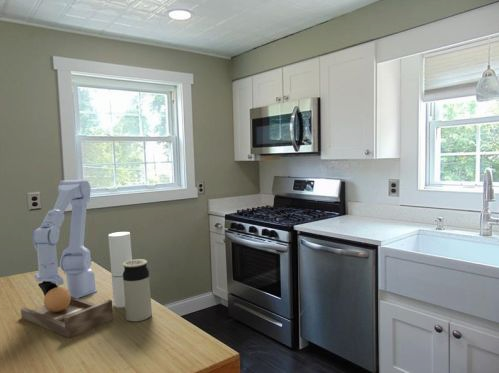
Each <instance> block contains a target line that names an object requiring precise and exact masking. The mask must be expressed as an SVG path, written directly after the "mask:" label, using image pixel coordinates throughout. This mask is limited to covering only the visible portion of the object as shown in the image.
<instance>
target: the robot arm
mask: <svg viewBox="0 0 499 373" xmlns="http://www.w3.org/2000/svg"><path fill="white" fill-rule="evenodd" d="M91 189H92V188H91V185H90V182H89V180H87V179H71V180H65V179H64V180H61V181H60V182H59V184H58V187H57V190H58V191H57V192H58V196H57V199H56V202H55V204H54V206H53V209H50V210H48V212H47V213H46V215H45V217H44V218H43V221H42V222H41V225H40V226H39V227H37V228H36V229H35V230H34V231H33V233H32V235H31V241H32V244H33V245H34V249H35V251H36V253H37V254H36V255H37V264H38V266H37V268H38V272H36V273H34V274H35V281H36V282H39V283H38V287H39V288H40V289H41V291H42V293H43V295H44V297H45V295H46V294H47V292H48V291H50V290H51V289H53V288H56V287H60V286H61V285H64V278H63V277H61V275H60V274H59V269H60V270H61V271H62V272H63V274H64V275H66V287H67V289H66V290H68V291H69V293H70V296H72V297H75V298H78V299H80V298H82V297H84V296H88V295H91V294H93V293H96V292H97V291H98V290H97V288H96V279H95V273H94V271H93V270H92V268H91V266H92V257H91V250H90V249H89V248H87V247H85V245H84V244H85V243H84V242H85V232H86V230H85V229H86V219H87V204H88V203H89V202H90V200H91V199H90V198H91ZM70 204H71V218H70V219H71V220H70V229H69V231H70V232H69V242H68V247H66V248H64V250H63V251H62V252H61V258H60V260H59V264H58V253H57V243H58V242H59V241H60V233H61V230H60V229H61V226H62V225H63V222H64V221H65V218H66V217H65V214H64V213H65V211H66V209H67V208H68V206H69V205H70ZM58 265H59V266H58ZM58 267H60V268H58Z"/></svg>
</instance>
